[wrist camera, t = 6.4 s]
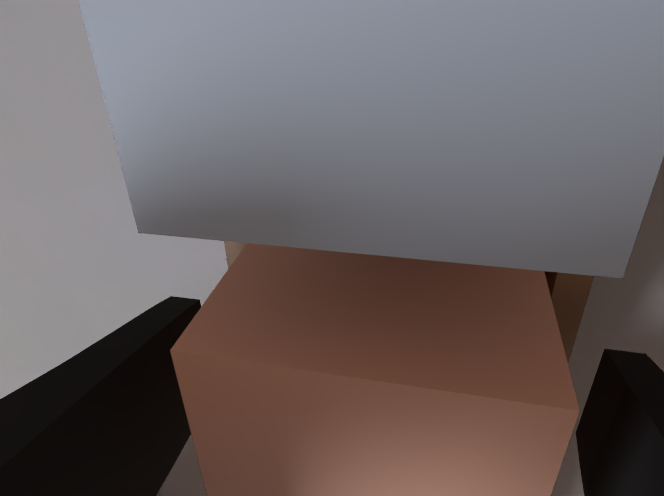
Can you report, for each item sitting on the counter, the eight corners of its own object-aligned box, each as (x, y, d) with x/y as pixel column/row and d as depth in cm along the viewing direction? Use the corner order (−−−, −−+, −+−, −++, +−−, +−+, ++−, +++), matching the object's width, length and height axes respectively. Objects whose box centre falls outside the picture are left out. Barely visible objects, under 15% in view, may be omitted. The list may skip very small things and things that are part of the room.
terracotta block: (488, 346, 12) (508, 621, 7) (312, 324, 13) (222, 554, 8) (519, 177, 10) (579, 410, 5) (304, 163, 11) (169, 350, 6)
